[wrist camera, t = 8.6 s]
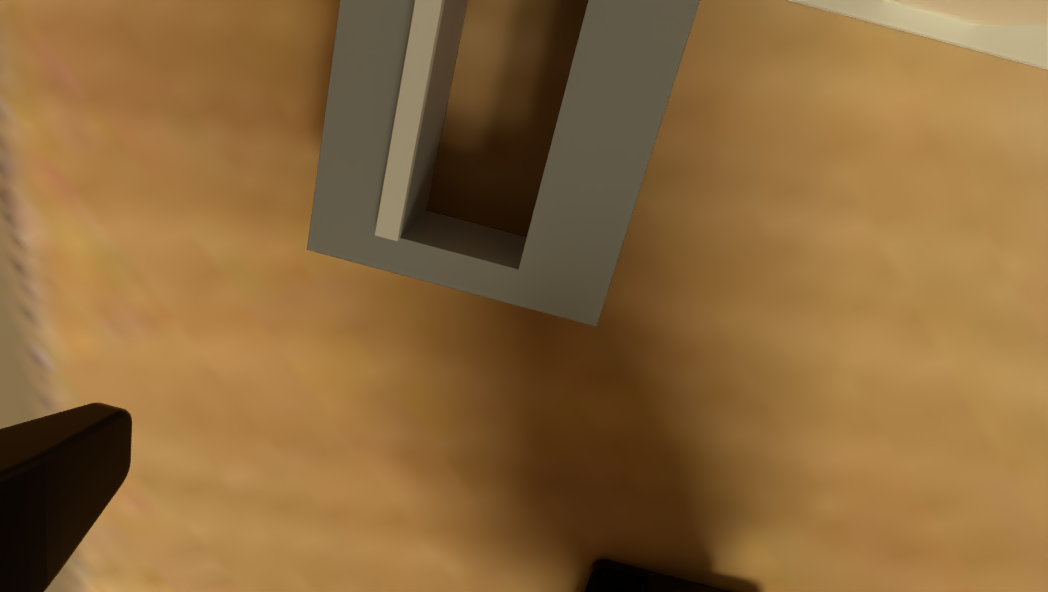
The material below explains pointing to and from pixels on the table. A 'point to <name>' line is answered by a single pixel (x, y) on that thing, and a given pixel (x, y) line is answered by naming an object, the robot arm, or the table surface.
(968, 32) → the mat
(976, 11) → the cream rectangular block
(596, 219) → the dispenser
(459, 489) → the table surface
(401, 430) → the table surface
